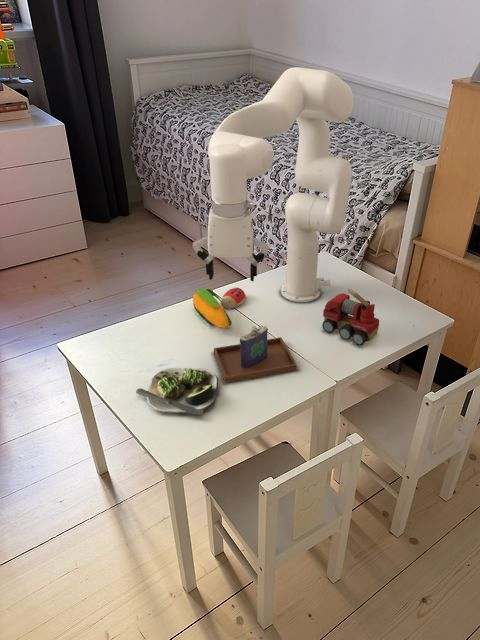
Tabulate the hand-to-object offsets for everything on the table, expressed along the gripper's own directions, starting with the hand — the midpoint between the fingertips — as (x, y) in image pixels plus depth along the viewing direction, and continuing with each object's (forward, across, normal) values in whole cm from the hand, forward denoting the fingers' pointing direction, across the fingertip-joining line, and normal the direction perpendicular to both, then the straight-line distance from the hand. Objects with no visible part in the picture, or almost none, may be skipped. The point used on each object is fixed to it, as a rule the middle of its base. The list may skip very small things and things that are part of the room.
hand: (232, 277), depth 127 cm
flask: (+25, -5, -1) cm, 26 cm away
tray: (+25, -5, -1) cm, 26 cm away
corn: (+26, +8, -21) cm, 34 cm away
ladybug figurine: (+26, +3, -31) cm, 40 cm away
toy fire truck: (+26, -31, -15) cm, 43 cm away
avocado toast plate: (+26, +11, +13) cm, 31 cm away
